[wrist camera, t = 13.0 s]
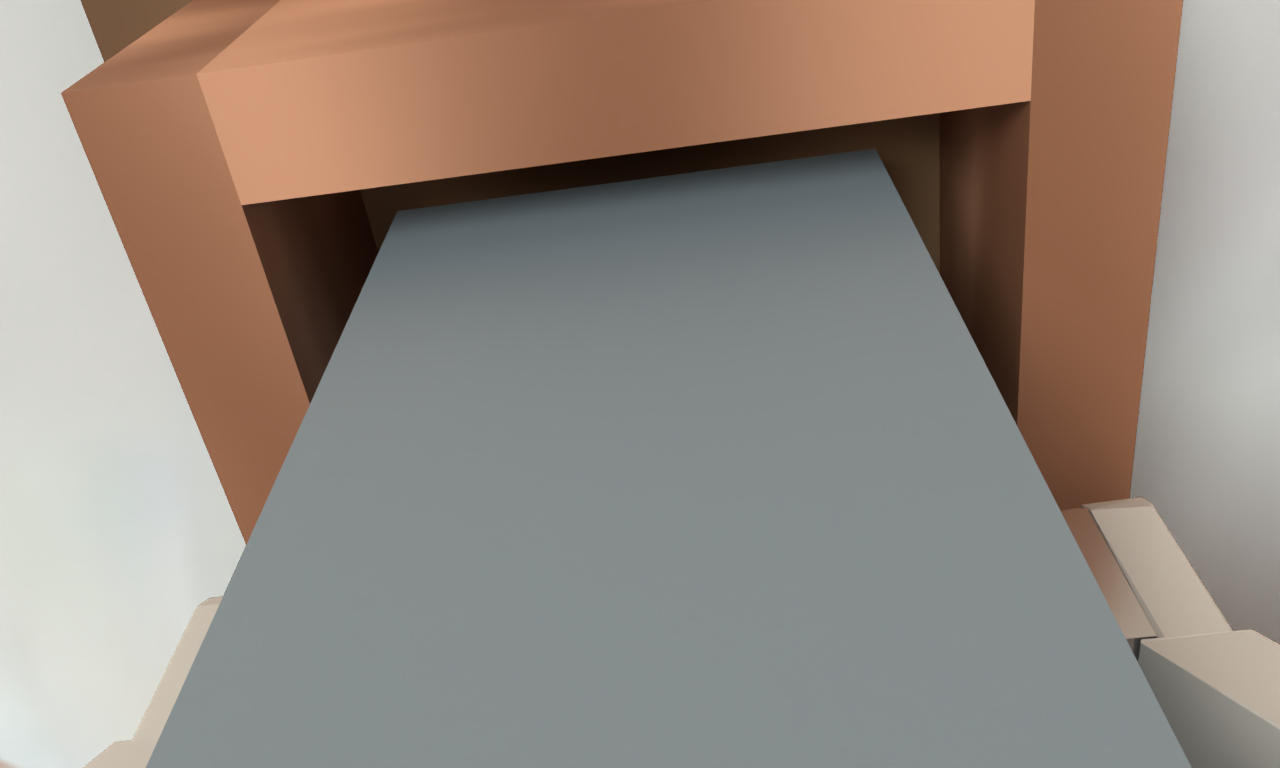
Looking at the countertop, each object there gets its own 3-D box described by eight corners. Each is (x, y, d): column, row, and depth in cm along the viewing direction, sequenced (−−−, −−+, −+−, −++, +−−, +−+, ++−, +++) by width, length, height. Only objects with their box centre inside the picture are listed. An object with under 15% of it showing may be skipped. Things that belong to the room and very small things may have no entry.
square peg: (875, 147, 12) (1523, 1421, 3) (886, 528, 14) (1259, 1790, 6) (397, 211, 12) (-191, 1510, 3) (493, 571, 15) (292, 1820, 6)
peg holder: (1155, -292, 12) (1394, -281, 8) (1083, 567, 18) (1199, 800, 14) (77, -125, 13) (-160, -44, 9) (358, 641, 19) (286, 880, 15)
